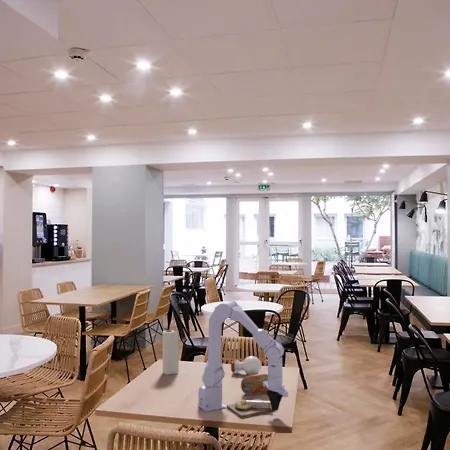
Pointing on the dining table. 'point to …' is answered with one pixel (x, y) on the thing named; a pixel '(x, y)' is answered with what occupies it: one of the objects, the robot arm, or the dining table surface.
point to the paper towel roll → (170, 352)
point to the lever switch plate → (249, 412)
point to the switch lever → (251, 404)
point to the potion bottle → (247, 365)
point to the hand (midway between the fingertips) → (275, 409)
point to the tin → (254, 384)
